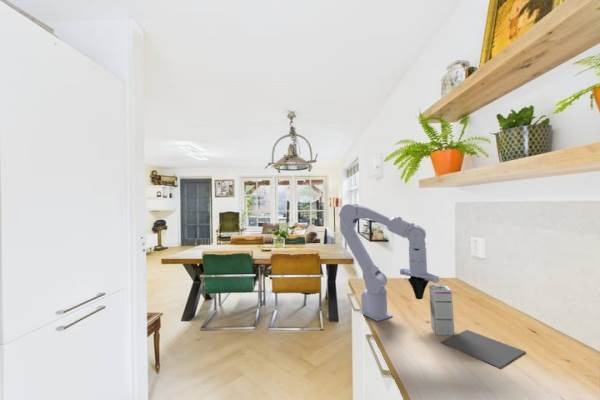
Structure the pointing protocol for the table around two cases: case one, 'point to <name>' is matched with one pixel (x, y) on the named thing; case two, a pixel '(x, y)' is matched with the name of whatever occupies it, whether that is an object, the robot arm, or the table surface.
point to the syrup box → (441, 310)
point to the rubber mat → (483, 348)
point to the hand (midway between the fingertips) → (419, 298)
